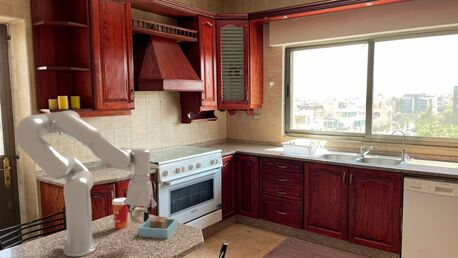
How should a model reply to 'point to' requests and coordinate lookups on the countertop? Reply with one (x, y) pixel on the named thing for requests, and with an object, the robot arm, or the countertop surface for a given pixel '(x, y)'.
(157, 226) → the walnut block
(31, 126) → the robot arm
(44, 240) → the countertop surface
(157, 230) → the tote
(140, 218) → the birch block
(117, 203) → the paper cup
